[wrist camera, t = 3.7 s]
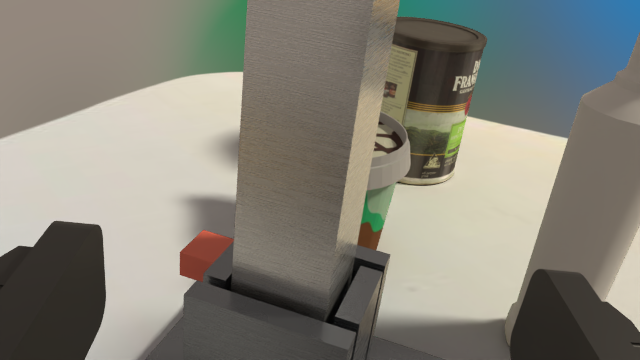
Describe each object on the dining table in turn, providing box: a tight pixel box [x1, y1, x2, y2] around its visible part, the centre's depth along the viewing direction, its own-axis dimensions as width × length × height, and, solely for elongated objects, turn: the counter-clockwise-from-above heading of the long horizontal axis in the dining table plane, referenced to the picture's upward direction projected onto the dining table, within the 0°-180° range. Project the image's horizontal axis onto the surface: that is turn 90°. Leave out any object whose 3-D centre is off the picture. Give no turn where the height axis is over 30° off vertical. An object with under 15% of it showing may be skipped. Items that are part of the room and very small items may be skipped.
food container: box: [357, 111, 411, 250], centre depth 45 cm, size 12×6×10 cm, turn 18°
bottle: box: [505, 33, 640, 346], centre depth 32 cm, size 5×5×25 cm
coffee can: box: [380, 17, 487, 185], centre depth 58 cm, size 10×10×14 cm
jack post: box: [231, 0, 400, 325], centre depth 23 cm, size 6×4×23 cm, turn 71°
